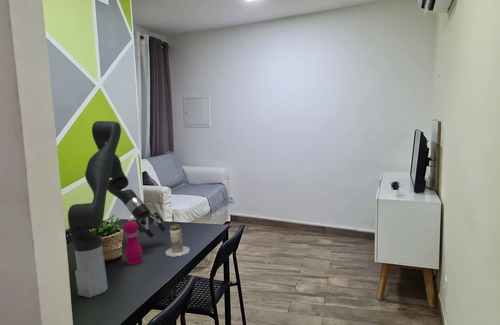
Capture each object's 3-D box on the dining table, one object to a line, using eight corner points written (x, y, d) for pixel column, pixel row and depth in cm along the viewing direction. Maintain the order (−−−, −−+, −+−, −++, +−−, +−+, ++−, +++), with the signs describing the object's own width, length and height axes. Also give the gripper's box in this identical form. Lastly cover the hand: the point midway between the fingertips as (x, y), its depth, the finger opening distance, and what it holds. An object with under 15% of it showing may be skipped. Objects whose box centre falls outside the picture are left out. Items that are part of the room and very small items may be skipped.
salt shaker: (178, 253, 159) (176, 228, 158) (169, 252, 162) (167, 227, 160) (185, 249, 164) (182, 224, 162) (176, 248, 166) (174, 223, 164)
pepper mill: (138, 265, 150) (133, 220, 148) (122, 265, 152) (117, 220, 149) (146, 258, 157) (141, 215, 155) (131, 258, 159) (126, 215, 156)
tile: (180, 258, 156) (180, 256, 155) (160, 255, 160) (160, 253, 160) (194, 248, 165) (194, 247, 165) (175, 246, 170) (175, 245, 170)
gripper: (130, 207, 162) (152, 234, 158) (151, 199, 174) (172, 224, 171) (123, 217, 165) (144, 243, 162) (144, 209, 178) (164, 233, 174)
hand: (158, 233), depth 166 cm, fingers open, 8 cm apart
